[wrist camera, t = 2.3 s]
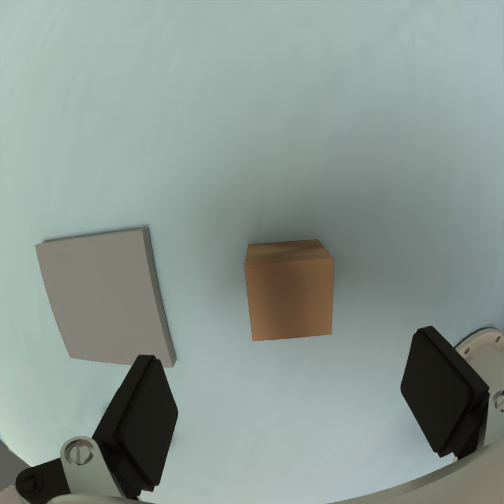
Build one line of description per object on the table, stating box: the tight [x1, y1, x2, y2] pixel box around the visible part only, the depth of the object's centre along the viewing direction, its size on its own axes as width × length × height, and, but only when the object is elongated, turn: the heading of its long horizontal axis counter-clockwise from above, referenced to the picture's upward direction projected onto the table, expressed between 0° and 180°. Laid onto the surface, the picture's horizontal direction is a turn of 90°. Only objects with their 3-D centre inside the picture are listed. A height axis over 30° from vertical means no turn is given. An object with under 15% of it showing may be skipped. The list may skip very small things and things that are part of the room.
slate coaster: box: [35, 228, 176, 368], centre depth 22 cm, size 12×12×1 cm
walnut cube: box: [245, 239, 333, 341], centre depth 19 cm, size 5×5×5 cm
